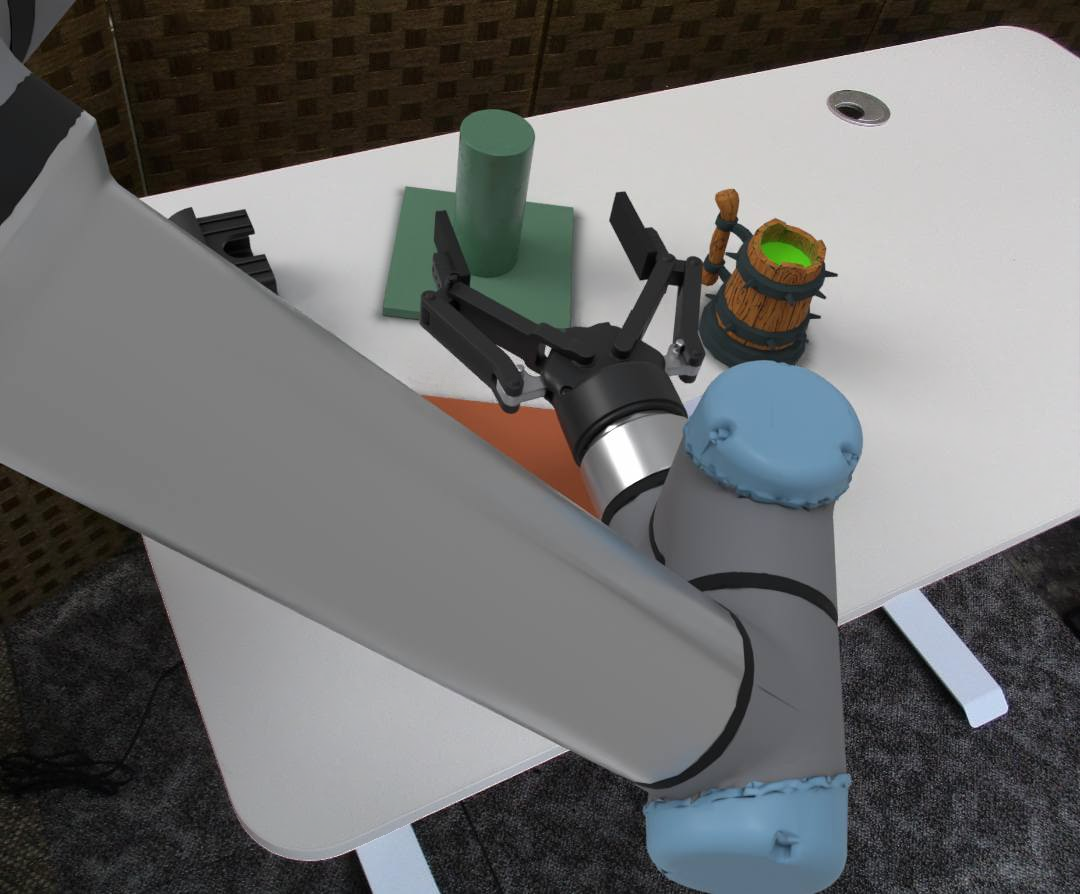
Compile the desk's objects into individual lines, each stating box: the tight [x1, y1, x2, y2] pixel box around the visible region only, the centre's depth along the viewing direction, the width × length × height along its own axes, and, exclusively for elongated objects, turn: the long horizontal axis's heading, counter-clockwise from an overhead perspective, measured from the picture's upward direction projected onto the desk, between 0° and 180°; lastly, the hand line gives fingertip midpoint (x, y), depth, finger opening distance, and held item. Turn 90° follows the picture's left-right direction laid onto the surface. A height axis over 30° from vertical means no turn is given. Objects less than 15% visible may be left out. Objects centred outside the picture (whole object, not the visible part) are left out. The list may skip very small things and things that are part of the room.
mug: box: [698, 188, 839, 369], centre depth 85 cm, size 13×10×12 cm
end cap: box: [168, 206, 279, 296], centre depth 80 cm, size 10×7×7 cm
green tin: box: [453, 108, 536, 277], centre depth 84 cm, size 6×6×13 cm
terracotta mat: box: [420, 394, 599, 520], centre depth 75 cm, size 16×16×1 cm
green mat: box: [382, 185, 575, 332], centre depth 90 cm, size 16×16×1 cm
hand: (530, 215), depth 72 cm, fingers open, 13 cm apart
